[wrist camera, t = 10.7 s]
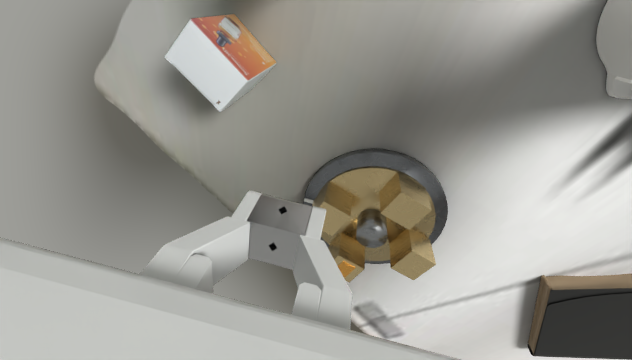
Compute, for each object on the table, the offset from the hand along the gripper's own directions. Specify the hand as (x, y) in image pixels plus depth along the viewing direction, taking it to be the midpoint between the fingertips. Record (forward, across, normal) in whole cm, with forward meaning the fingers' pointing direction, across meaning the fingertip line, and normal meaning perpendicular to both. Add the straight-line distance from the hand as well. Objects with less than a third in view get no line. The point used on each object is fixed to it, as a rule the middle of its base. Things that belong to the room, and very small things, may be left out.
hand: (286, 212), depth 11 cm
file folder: (+32, -63, +31) cm, 77 cm away
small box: (+31, +14, +2) cm, 34 cm away
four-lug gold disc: (+29, -10, +23) cm, 39 cm away
